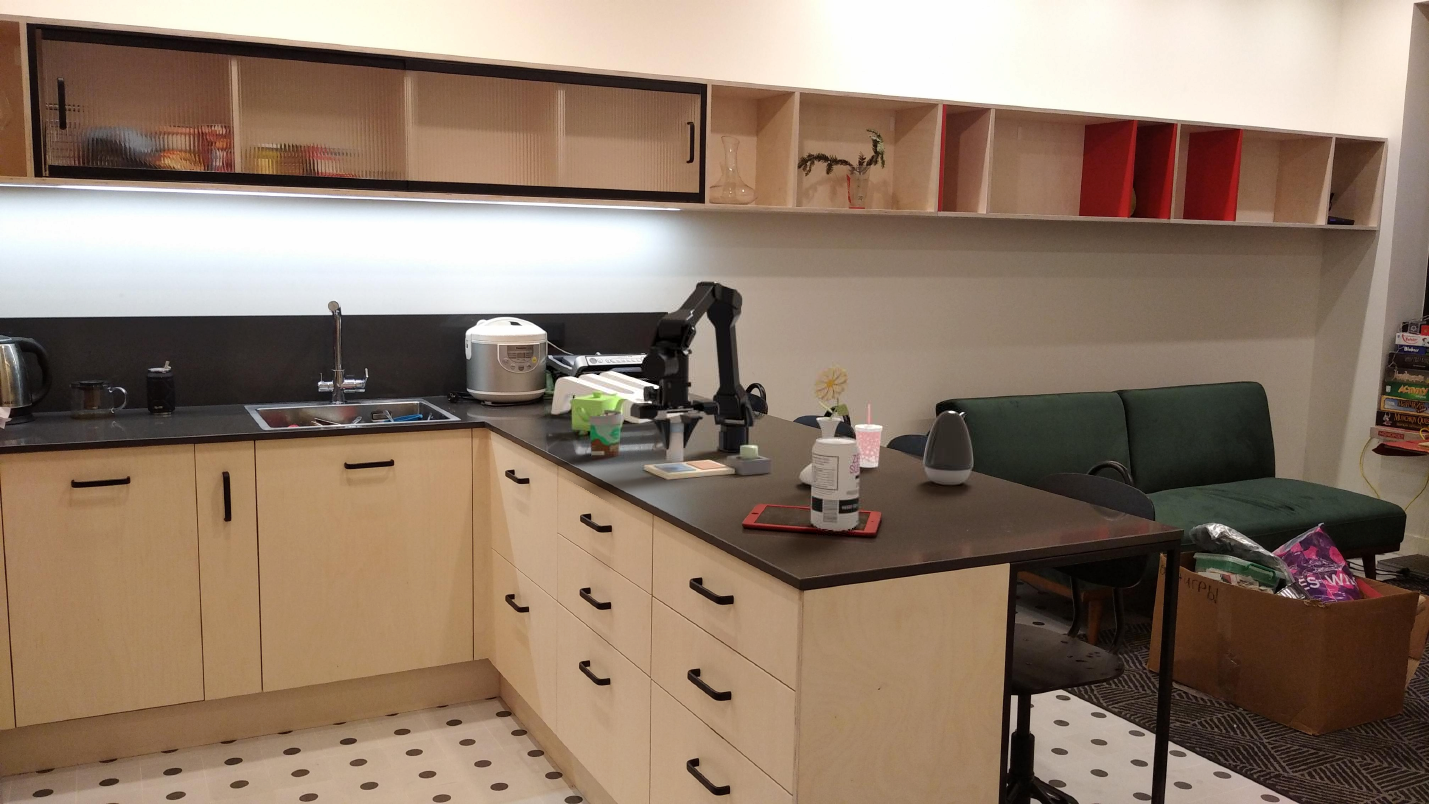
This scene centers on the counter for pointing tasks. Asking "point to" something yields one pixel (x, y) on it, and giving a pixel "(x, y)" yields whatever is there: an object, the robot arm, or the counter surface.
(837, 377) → the flower in vase
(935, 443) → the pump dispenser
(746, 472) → the button housing
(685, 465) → the picture board
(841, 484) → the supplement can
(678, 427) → the capped clear jar
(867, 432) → the beverage cup
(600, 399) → the kettle
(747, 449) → the button
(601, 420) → the food container
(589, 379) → the bracket
